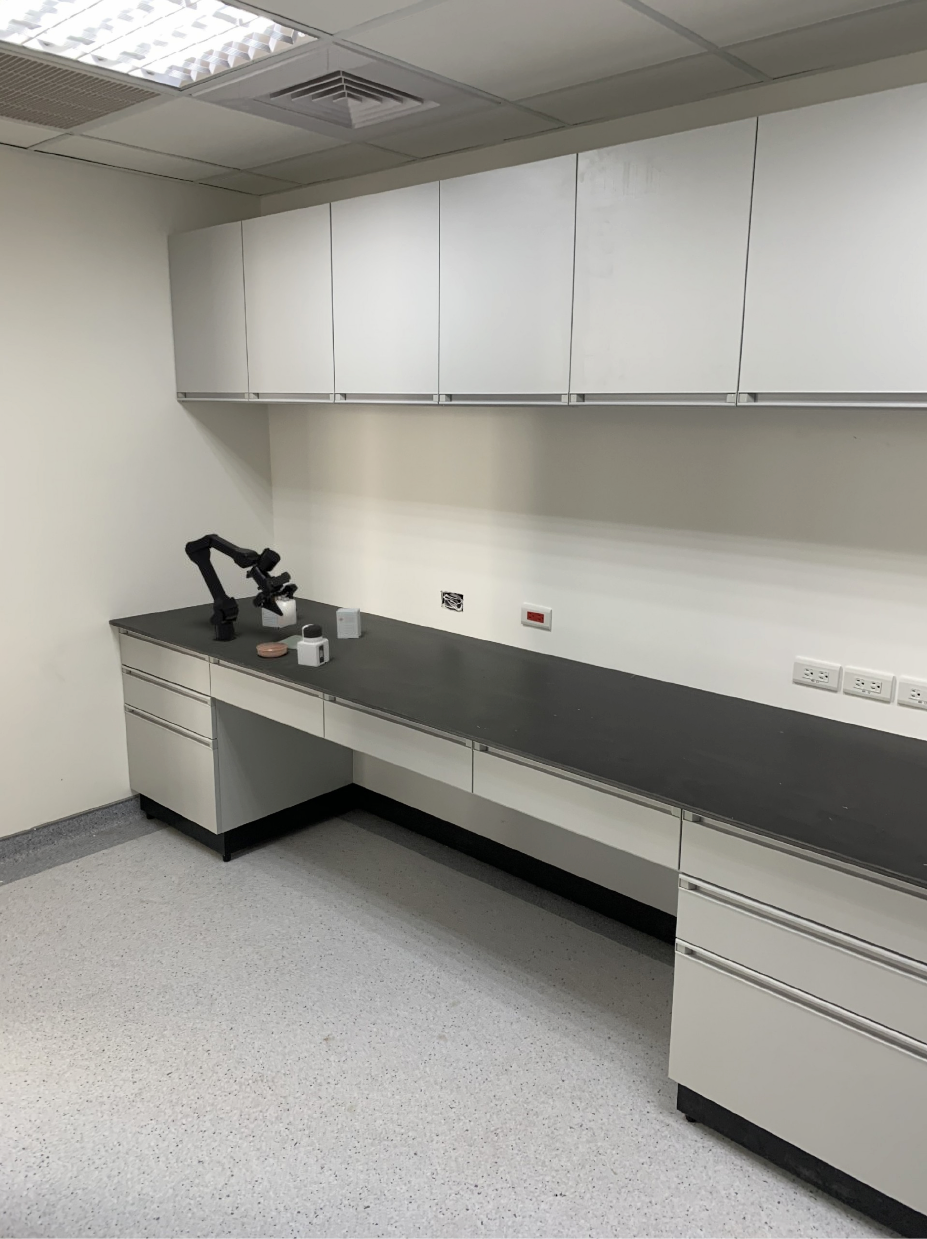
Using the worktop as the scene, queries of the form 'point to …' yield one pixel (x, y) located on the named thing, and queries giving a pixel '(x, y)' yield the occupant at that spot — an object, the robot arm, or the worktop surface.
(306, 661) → the container
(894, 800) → the worktop surface
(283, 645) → the bowl
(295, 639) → the mat
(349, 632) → the small box
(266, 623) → the supplement box
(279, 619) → the bottle
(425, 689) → the worktop surface
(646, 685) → the worktop surface
